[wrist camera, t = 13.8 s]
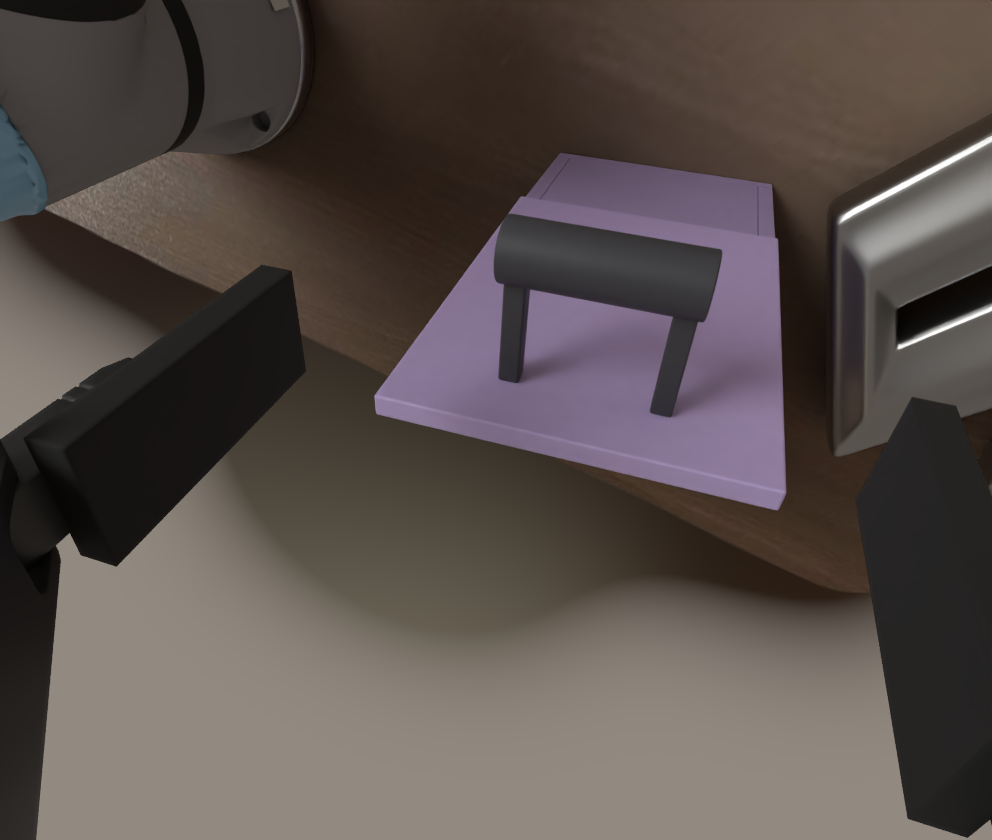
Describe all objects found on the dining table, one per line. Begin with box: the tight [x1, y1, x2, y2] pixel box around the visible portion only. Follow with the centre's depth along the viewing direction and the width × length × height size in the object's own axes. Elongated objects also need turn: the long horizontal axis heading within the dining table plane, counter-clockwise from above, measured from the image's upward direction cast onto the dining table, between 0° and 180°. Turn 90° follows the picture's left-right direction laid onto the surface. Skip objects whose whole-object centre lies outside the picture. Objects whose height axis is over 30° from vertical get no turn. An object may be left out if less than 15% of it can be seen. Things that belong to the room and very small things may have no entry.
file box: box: [526, 153, 775, 238], centre depth 42 cm, size 17×13×9 cm
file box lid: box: [375, 196, 786, 510], centre depth 25 cm, size 17×13×6 cm
